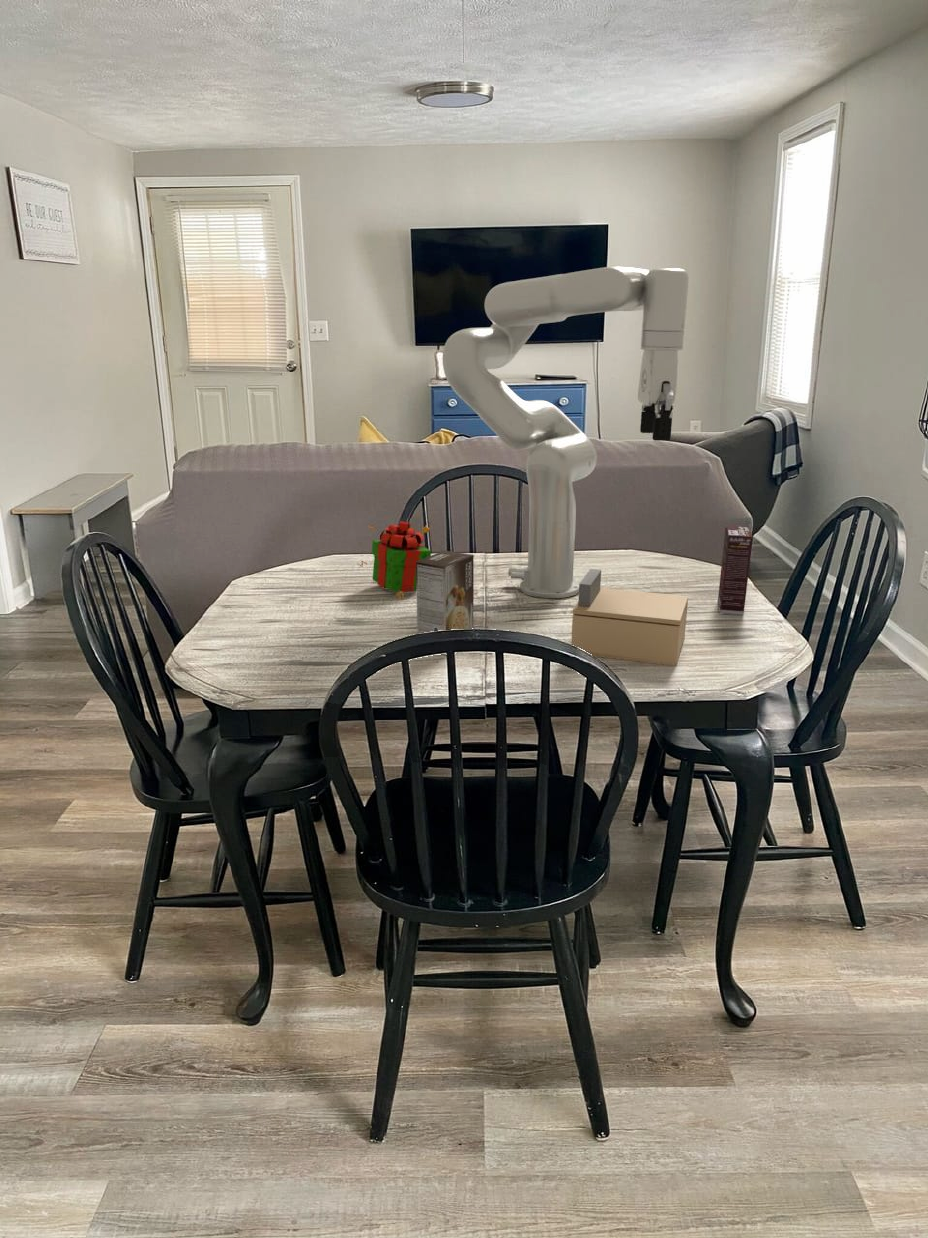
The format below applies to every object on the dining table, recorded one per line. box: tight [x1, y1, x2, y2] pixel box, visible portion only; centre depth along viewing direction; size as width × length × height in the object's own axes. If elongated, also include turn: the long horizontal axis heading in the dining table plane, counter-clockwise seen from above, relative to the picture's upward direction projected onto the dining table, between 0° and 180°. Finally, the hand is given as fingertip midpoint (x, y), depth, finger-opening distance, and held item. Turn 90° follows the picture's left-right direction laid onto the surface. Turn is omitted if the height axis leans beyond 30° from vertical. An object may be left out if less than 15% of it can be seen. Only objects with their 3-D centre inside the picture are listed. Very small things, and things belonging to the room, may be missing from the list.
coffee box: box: [416, 550, 475, 634], centre depth 162 cm, size 9×6×16 cm
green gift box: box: [357, 521, 432, 599], centre depth 197 cm, size 20×19×14 cm
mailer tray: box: [570, 602, 689, 667], centre depth 164 cm, size 18×14×7 cm
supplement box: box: [717, 525, 754, 616], centre depth 183 cm, size 9×5×16 cm, turn 168°
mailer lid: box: [572, 568, 689, 625], centre depth 161 cm, size 18×14×5 cm
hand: (654, 436), depth 174 cm, fingers open, 9 cm apart
